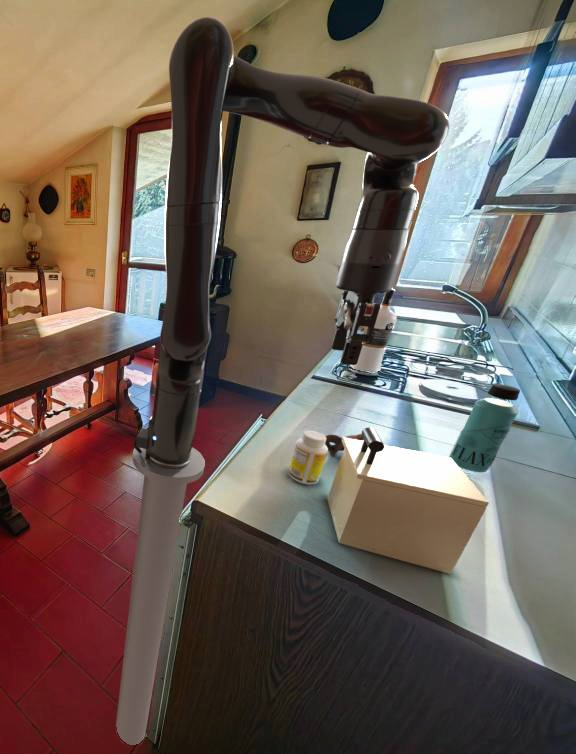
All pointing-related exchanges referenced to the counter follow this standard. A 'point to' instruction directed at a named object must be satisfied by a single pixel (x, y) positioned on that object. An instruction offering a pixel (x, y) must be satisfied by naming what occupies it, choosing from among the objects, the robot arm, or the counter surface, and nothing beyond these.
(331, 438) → the dark brown curved piece
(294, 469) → the supplement bottle
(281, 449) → the counter surface
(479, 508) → the wooden keepsake chest
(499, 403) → the beverage bottle
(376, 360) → the vodka
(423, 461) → the chest lid
